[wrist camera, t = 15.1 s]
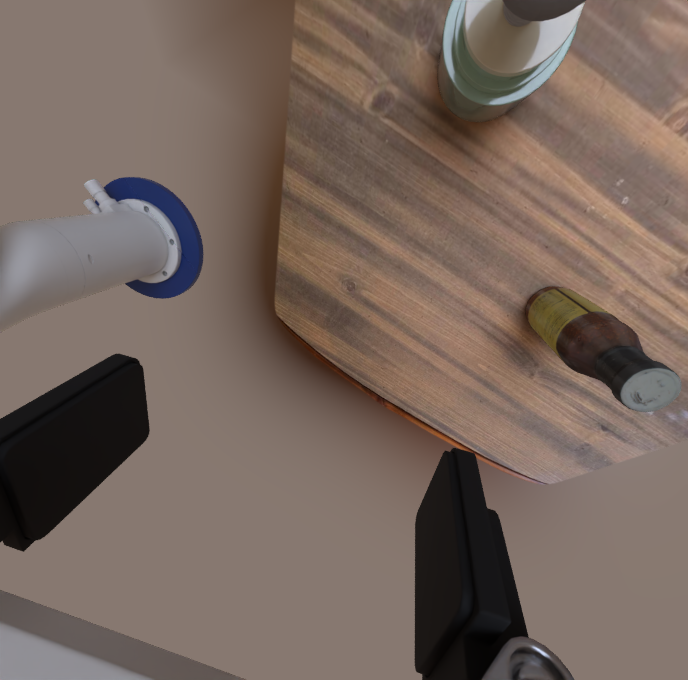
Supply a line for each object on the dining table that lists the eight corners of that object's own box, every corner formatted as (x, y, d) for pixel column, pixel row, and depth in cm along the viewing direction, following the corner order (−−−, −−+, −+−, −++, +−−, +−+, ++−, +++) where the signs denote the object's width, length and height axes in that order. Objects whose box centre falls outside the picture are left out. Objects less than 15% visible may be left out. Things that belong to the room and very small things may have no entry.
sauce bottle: (523, 331, 45) (590, 427, 28) (524, 287, 43) (597, 360, 25) (578, 326, 44) (687, 424, 26) (582, 280, 41) (705, 353, 24)
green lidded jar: (420, 52, 35) (420, -14, 23) (516, -29, 31) (577, -160, 19) (463, 142, 38) (483, 124, 26) (557, 77, 34) (633, 21, 22)
